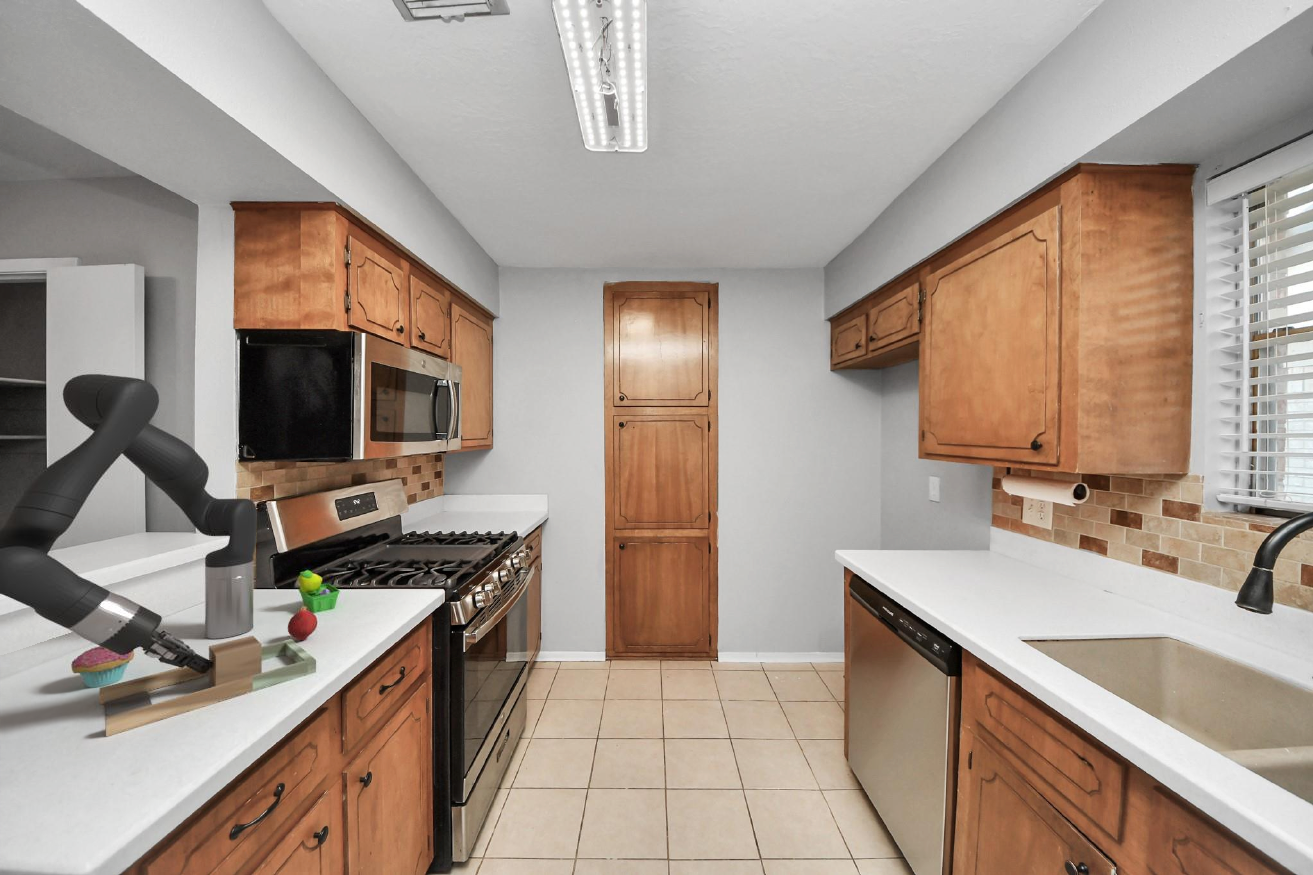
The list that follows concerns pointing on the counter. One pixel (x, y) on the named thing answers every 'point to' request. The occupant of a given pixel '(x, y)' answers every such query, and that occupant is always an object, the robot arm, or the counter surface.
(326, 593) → the fruit basket
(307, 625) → the onion
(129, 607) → the robot arm
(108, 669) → the cupcake
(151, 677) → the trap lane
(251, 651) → the walnut block
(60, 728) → the counter surface
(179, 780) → the counter surface
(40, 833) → the counter surface
